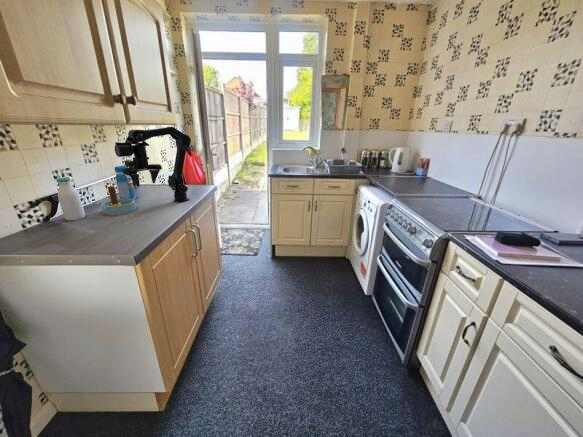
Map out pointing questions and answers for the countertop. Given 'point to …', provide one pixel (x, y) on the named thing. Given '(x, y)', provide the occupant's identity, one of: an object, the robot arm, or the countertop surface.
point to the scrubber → (113, 196)
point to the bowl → (119, 207)
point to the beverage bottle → (124, 184)
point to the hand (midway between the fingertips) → (146, 185)
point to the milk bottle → (69, 200)
